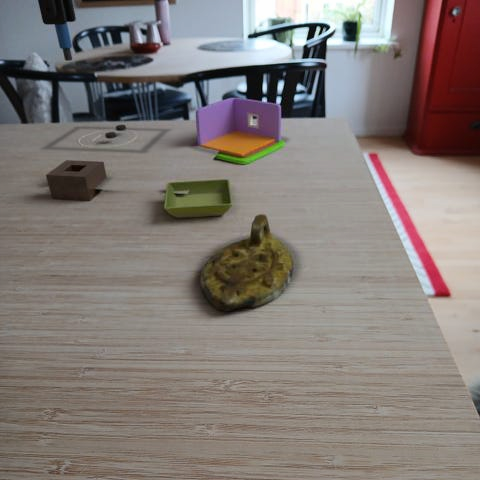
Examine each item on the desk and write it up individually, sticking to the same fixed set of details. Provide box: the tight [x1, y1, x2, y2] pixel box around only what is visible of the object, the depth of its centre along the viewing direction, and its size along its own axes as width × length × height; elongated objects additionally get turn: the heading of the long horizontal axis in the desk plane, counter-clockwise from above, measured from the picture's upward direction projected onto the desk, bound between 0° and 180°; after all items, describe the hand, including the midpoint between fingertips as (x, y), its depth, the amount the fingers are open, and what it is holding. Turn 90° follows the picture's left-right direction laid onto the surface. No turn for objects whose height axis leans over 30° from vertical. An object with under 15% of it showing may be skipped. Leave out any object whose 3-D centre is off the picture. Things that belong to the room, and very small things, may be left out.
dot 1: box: [104, 131, 117, 140], centre depth 89 cm, size 2×2×1 cm
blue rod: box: [54, 22, 73, 62], centre depth 67 cm, size 2×2×10 cm
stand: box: [45, 159, 108, 202], centre depth 74 cm, size 6×6×4 cm
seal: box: [199, 213, 294, 312], centre depth 53 cm, size 9×5×15 cm
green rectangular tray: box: [163, 178, 234, 219], centre depth 68 cm, size 9×9×2 cm
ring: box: [77, 128, 138, 149], centre depth 92 cm, size 18×12×1 cm, turn 77°
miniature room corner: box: [195, 97, 286, 165], centre depth 86 cm, size 12×12×7 cm
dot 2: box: [115, 124, 127, 132], centre depth 92 cm, size 2×2×1 cm
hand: (59, 21), depth 67 cm, fingers closed on blue rod, 1 cm apart
